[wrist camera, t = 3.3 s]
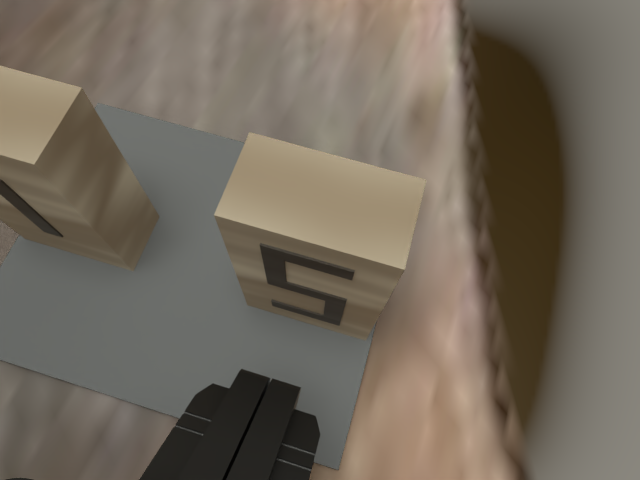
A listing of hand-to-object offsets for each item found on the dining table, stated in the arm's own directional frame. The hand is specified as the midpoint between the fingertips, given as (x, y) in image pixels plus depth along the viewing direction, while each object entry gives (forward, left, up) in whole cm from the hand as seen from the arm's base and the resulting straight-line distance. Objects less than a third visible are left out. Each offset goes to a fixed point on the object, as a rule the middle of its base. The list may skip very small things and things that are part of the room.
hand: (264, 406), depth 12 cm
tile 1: (-10, -2, -5) cm, 11 cm away
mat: (-6, +1, -6) cm, 9 cm away
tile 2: (-3, +4, -5) cm, 7 cm away
